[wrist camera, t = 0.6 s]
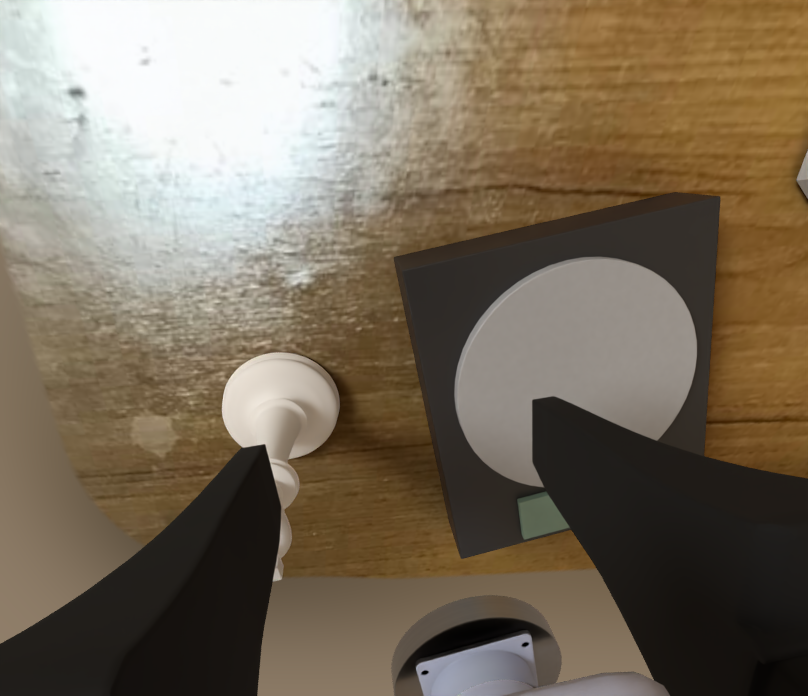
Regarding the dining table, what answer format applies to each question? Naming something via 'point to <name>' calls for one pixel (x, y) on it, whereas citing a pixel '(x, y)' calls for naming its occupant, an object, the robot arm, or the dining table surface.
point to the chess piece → (281, 418)
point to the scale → (559, 347)
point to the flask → (804, 176)
